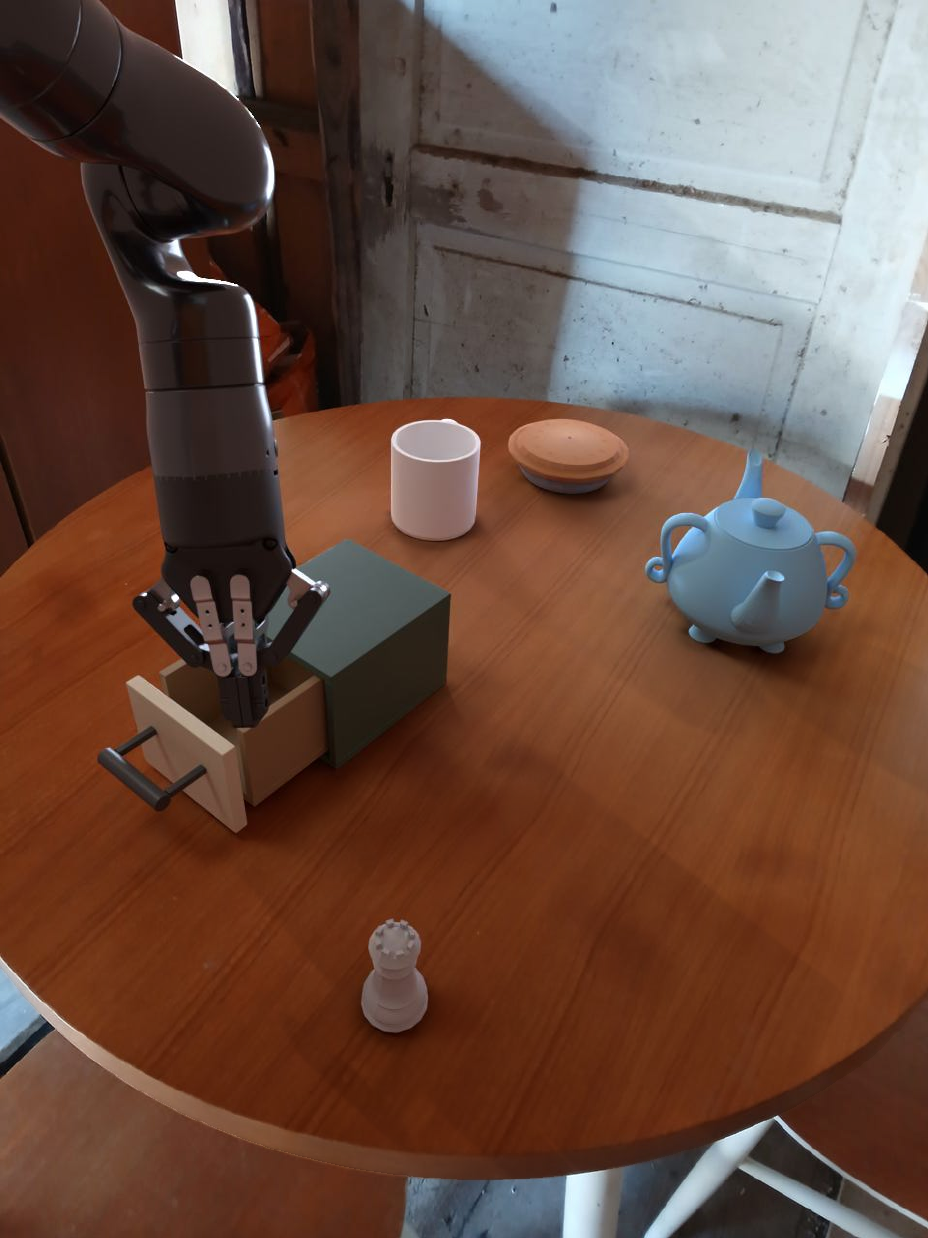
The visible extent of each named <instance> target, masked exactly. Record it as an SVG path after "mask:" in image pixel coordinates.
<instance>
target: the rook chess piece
mask: <svg viewBox="0 0 928 1238" xmlns="http://www.w3.org/2000/svg"><path fill="white" fill-rule="evenodd" d="M421 948H422V941H421V938H420V935H419V933H418V932H417V930H415V929H414V927H412V926H411V925H409V922H408V921H407V920H404V919H400V921H399V922H396V921H395V920H394V918H390V919H387V920H385V923H384V924H382V925H380V924H379V925H378V926H377V927H376V929H375V930H374V931H373V932H372V934H371V936H370V937H369V941H368V948H367V949H368V952H369V955H370V959H372V960H371V962H372V964H373V968H374V969H372V970H371V971H370V973H369V975H368V976H367V977H366V979H365V981H364V983H363V986H362V993H361V1001H360V1005H361V1008H362V1012H363V1015H364V1017H365V1018H366V1020H367V1021H368V1022H369V1023H370V1025H371V1026H373V1027H375V1028H377V1029H379V1030H380V1031H382V1032H386V1033H401V1032H404V1031H407V1030H410V1029H412V1028H413V1027H415V1026H416V1025H417V1024H419V1022H420V1021H421V1020H422V1019H423V1016H424V1015H425V1013H426V1011H427V1010H428V1003H429V995H428V987H427V984H426V981H425V978H424V976H423V975H422V974H421V972H420V971H419V970H418V969H417V968H416V966H417V963H418V962H417V961H418V957H419V955H420V954H421V950H422V949H421Z"/></svg>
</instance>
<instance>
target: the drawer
mask: <svg viewBox="0 0 928 1238" xmlns="http://www.w3.org/2000/svg"><path fill="white" fill-rule="evenodd" d="M158 675H159V679H160V684H161V688H162V691H161V690H160V689H158V688H157V687H155V686H154V685H153V684H151V683H150V682H149V681H147V680H146V679H145V678H143V676H141V675H136V676H134V677H133V678H131V679H129V680H128V681H126V682H125V685H126V690H127V694H128V697H129V702H130V706H131V710H132V713H133V717H134V721H135V722H134V723H135V725H136V730H137V734H136V735H134V736H133V737H131V738H129V739H128V740H126V741H125V742H123V743H122V744H120V745H119V746H117V747H115V748H112V747H105V748H103V749H102V750H101V751H100V752H99V754H97V755H98V756H97V757H96V761H97V763H98V764H99V765H100V766H102V768H104V769H105V770H106V771H107V772H108V773H110V774H111V775H112V776H113V777H114V778H116V779H117V780H118V781H119V782H121V783H122V785H124V786H125V787H127V788H128V789H129V790H130V791H131V792H132V793H134V794H135V795H136V796H137V797H138V798H140V799H141V801H143V802H145V804H147V805H148V806H149V807H150V808H151V809H153V810H154V811H155V812H157V813H161V812H164V811H165V810H166V809H167V808H168V807H169V806H170V804H171V802H172V798H174V797H175V796H177V795H178V794H179V793H181V792H184V793H185V794H186V795H188V796H189V797H190V798H191V799H192V800H194V801H195V802H196V803H197V804H199V805H200V806H201V807H202V808H204V809H205V810H206V811H207V812H209V813H210V814H211V815H212V816H213V817H215V818H216V819H217V820H219V822H221V823H222V824H223V825H225V826H226V827H227V828H229V829H230V830H231V831H232V832H233V833H235V834H237V833H238V832H240V831H241V830H242V829H243V828H245V827H246V826H247V825H248V818H247V813H246V807H245V806H246V805H245V801H246V802H247V803H249V804H250V805H252V806H253V807H256V806H257V805H259V804H260V803H261V802H263V801H264V800H265V799H267V798H268V797H269V796H270V795H272V794H273V793H274V792H276V791H277V790H279V788H281V787H282V786H283V785H285V784H286V783H287V782H289V781H290V780H292V779H293V778H294V777H295V776H296V775H298V774H299V773H300V772H302V771H303V770H304V769H306V768H307V767H308V766H309V765H311V764H312V763H314V762H315V761H317V759H319V757H320V756H321V755H322V754H324V753H325V752H326V751H327V750H329V741H328V725H327V709H326V694H325V680H323V679H322V678H320V677H318V676H317V675H315V674H314V673H312V672H311V671H309V670H308V669H306V668H304V667H303V666H301V665H300V664H298V663H297V662H295V661H294V660H292V659H290V658H289V657H287V656H286V657H285V659H284V660H283V661H282V662H281V664H280V665H278V666H269V667H267V668H266V675H267V684H268V692H269V700H270V706H269V709H268V712H267V713H266V714H265V716H264V717H263V718H262V720H261V721H260V722H259V724H258V725H257V726H256V728H233V727H232V722H231V720H226V719H225V717H224V715H223V713H222V707H221V698H220V693H219V685H218V679H217V676H216V674H215V673H214V672H213V671H211V670H209V669H206V668H203V667H198V668H192V667H190V666H189V665H188V664H187V663H186V662H185V661H184V660H183V659H182V658H180V659H178V660H177V661H175V662H173V663H171V664H170V665H169V666H166V667H165V668H163V669H162V670H160V671H158ZM139 746H141V749H142V754H143V757H144V761H145V762H147V763H148V764H149V766H151V767H153V768H154V769H155V770H156V771H158V773H160V774H161V775H162V776H164V777H165V778H167V779H168V780H169V781H170V782H171V784H170V785H169V786H168V787H166V788H165V789H162V788H161V787H160V786H159V785H157V783H155V782H154V781H153V780H152V779H150V777H148V776H147V775H145V774H144V773H143V772H142V771H141V770H140V769H138V768H137V767H136V766H135V765H134V764H132V763H131V762H129V761H128V760H127V759H126V758H125V757H124V756H125V755H127V754H129V753H130V752H132V751H133V750H135V749H136V748H138V747H139Z"/></svg>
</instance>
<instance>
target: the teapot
mask: <svg viewBox="0 0 928 1238" xmlns="http://www.w3.org/2000/svg"><path fill="white" fill-rule="evenodd" d="M763 469H764V460H763V456H762V454H761V452H760V451H759V450H758V449H755V448H752V449H750V450H749V451H748V453H747V457H746V465H745V471H744V474H743V477H742V480H741V483H740V485H739V487H738V489H737V492H736V493H735V494H734V495H735V496H734V497H733V499H731V500H728V501H725V502H723V503H721V504H720V505H718V506H717V507H715V508H714V509H712V510H711V511H710V512H708V513H707V514H706V515H705V516H702V515H700V514H697V513H694V512H682V513H677V514H674V515H673V516H670V517H669V518H668V519H667V520H666V521H665V522H664V524H663V526H662V528H661V532H660V541H659V542H660V552H661V557H659V556H654V557H652V558H650V559H649V560H648V561H647V562H646V564H645V567H644V573H645V575H646V577H647V578H648V579H649V580H650V581H652V582H653V583H655V584H664V583H666V587H667V592H668V595H669V597H670V599H671V600H672V602H673V603H674V605H675V606H676V608H677V609H678V610H679V612H680V613H681V614H682V615H683V616H684V618H686V620H687V621H688V622H690V623H691V624H692V626H690V628H689V629H688V634H689V637H691V638H692V639H693V640H695V641H696V642H698V643H704V644H709V643H713V642H714V641H716V639H719V640H722V641H725V642H728V643H731V644H737V645H742V646H751V647H752V646H753V647H758V648H759V649H761V650H763V651H764V652H766V653H771V654H779V653H782V652H783V651H784V650H785V642H788V641H791V640H793V639H796V638H798V637H800V636H803V635H804V634H806V633H807V632H809V631H811V629H812V628H813V627H815V626H816V625H817V624H818V623H819V621H820V619H821V618H822V615H823V613H824V610H825V609H828V610H838V609H841V608H844V607H845V606H846V605H847V603H848V602H849V598H850V593H849V590H848V588H847V587H846V586H844V585H841V583H842V582H843V581H844V580H845V579H846V577H848V574H849V573H850V572H851V570H852V569H853V567H854V565H855V562H856V559H857V551H856V547H855V544H854V543H853V542H852V541H851V540H850V539H849V537H846V536H845V535H844V534H841V533H840V532H835V531H818V532H817V533H815V530H814V528H813V526H812V525H811V523H810V522H809V520H807V519H806V517H804V516H803V514H801V513H800V512H798V511H796V510H795V509H793V508H792V507H790V506H787V505H785V504H783V503H782V502H781V501H778V500H776V499H774V498H768V497H763V472H764V471H763ZM679 527H691V528H690V529H689V530H688V531H687V532H686V533H685V535H684V536H682V539H681V540H680V541H679V543H678V544H677V546H676V548H675V549H674V551H673V553H672V545H671V537H672V533H673V531H674V530H675V529H677V528H679ZM821 546H834V547H837V548H839V549H842V550H843V551H844V555H843V558H842V560H841V561H840V563H839V564H838V566H837V567H836V568H835V570H834V571H833V572H832V574H831V575H830V576H829V577H828V572H827V565H826V561H825V558H824V557H825V556H824V554H823V552H822V549H821ZM657 566H660V567H662V569H661V570H658V569H656V568H654V567H657ZM832 594H835V595H836V596H832ZM837 595H838V596H837Z"/></svg>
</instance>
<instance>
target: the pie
mask: <svg viewBox="0 0 928 1238" xmlns="http://www.w3.org/2000/svg"><path fill="white" fill-rule="evenodd" d="M507 443H508V444H507V446H508V450H509V455H510V456H511V457H512V458H513V459H514V461H515V462H516V463H517V465H518V467H519V469H520V470H521V473H522V474H523V476H524V477H525V478H526V479H527V480H528V481H529V482H530V483H532V484H534V485H535V486H536V487H539V488H541V489H544V490H545V491H548V492H552V493H553V492H554V493H558V494H567V495H577V494H578V495H579V494H587V493H590V492H594V491H597V490H598V489H600V488H602V487H604V486H605V485H606V484H607V483H608V482H609V481H610V480H611V479H612V478H613V477H614V476H615V474H617V473H619V472H620V471H621V470H622V469H623V468H624V467H625V465H626V464H627V462H628V461H629V455H630V450H629V448H628V447H627V445H626V443H625V442H624V441H623V440H622V439H621V438H620V437H619V436H617V435H616V434H614V433H613V432H611V431H609V430H608V429H606V428H604V427H601V426H599V425H596V424H593V423H590V422H587V421H584V420H583V421H582V420H579V419H578V420H577V419H573V418H572V419H571V418H554V419H553V418H551V419H543V420H539V421H535V422H531V423H526V424H525V425H522V426H520V427H518V428H516V430H515V431H514V432H513V433H512V434H511V435H510V436H509V439H508V442H507Z"/></svg>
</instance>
